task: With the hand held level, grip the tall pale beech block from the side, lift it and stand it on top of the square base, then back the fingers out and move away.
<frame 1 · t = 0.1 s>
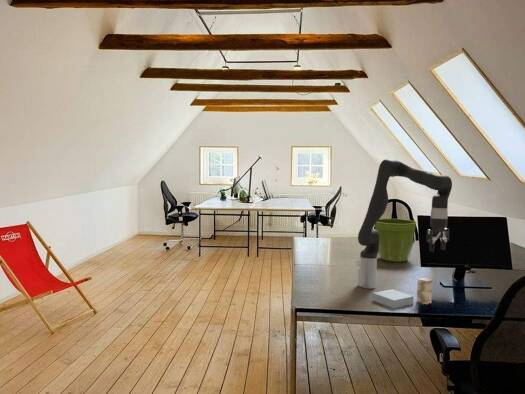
hand: (437, 250, 211), 29 cm above the table, tool pointing down, fingers open, 8 cm apart
keyboard: (457, 268, 302), on the table
plant pot: (393, 259, 324), on the table
beech block: (423, 302, 224), on the table
base: (392, 302, 224), on the table
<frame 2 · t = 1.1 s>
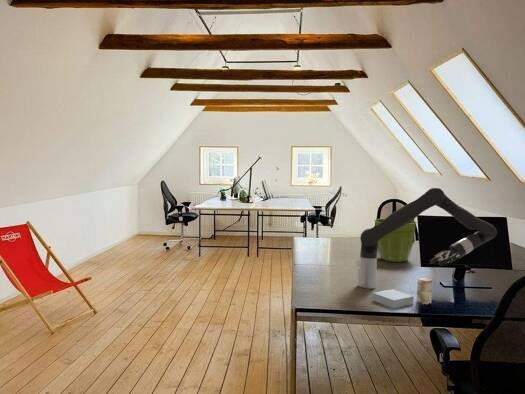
hand: (435, 263, 221), 21 cm above the table, tool tilted 65°, fingers open, 8 cm apart
nothing on the table moved.
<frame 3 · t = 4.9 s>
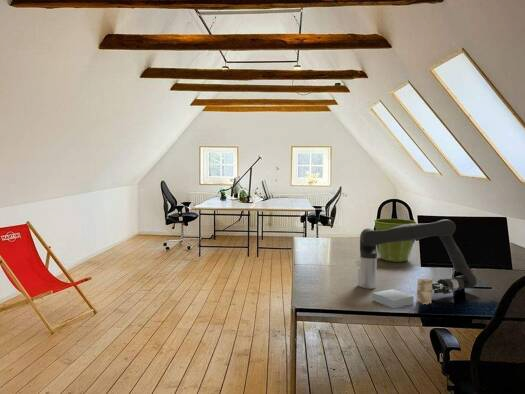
hand: (427, 289, 225), 6 cm above the table, tool horizontal, fingers open, 8 cm apart
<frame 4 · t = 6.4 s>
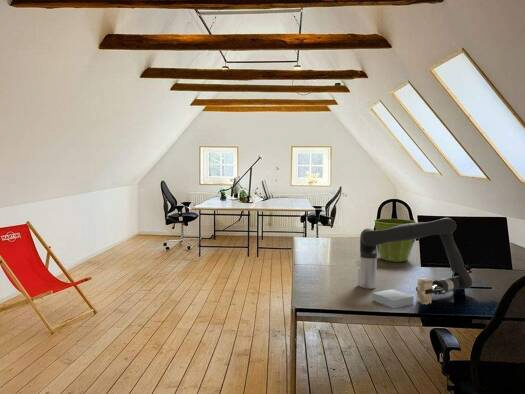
hand: (421, 290, 222), 7 cm above the table, tool horizontal, fingers closed on beech block, 5 cm apart
beech block: (424, 302, 224), on the table, touching gripper
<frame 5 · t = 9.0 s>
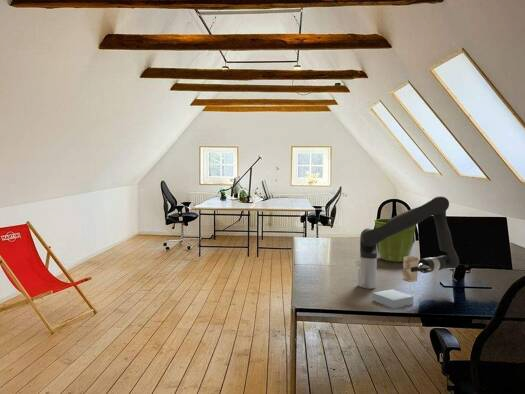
hand: (406, 268, 221), 18 cm above the table, tool horizontal, fingers closed on beech block, 5 cm apart
beech block: (409, 280, 223), point 11 cm above the table, touching gripper
when the fingers open (11 cm above the table, at t = 11.7 s): beech block stays where it is, resting on base.
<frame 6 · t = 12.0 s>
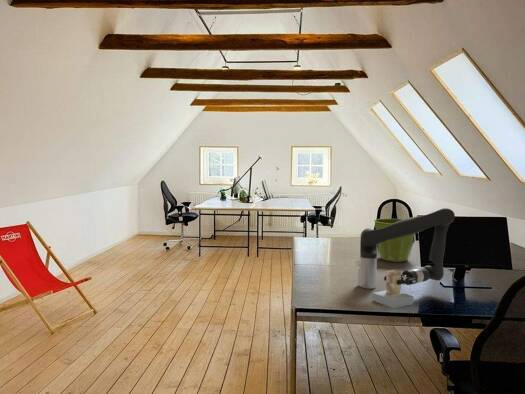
hand: (390, 280, 222), 12 cm above the table, tool horizontal, fingers open, 8 cm apart
beech block: (393, 294, 223), point 4 cm above the table, touching base
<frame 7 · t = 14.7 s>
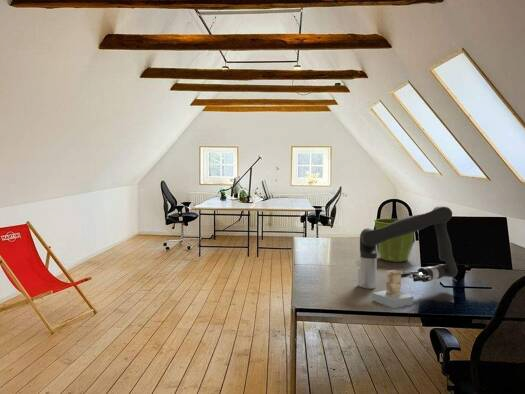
hand: (407, 277, 228), 11 cm above the table, tool horizontal, fingers open, 8 cm apart
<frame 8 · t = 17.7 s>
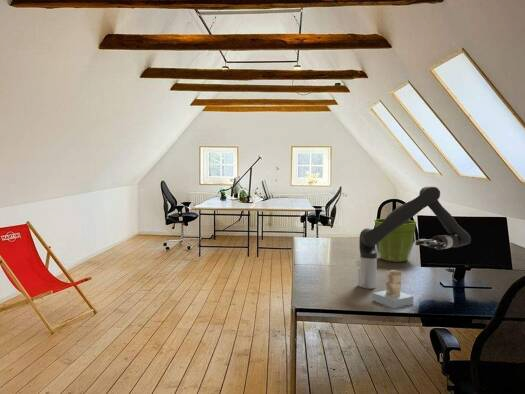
hand: (422, 244, 232), 28 cm above the table, tool horizontal, fingers open, 8 cm apart
at the end: beech block inside the target area on the base (0.0 cm from its centre), point 4.0 cm above the base's base; beech block tilted 0°; the gripper is holding nothing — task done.
